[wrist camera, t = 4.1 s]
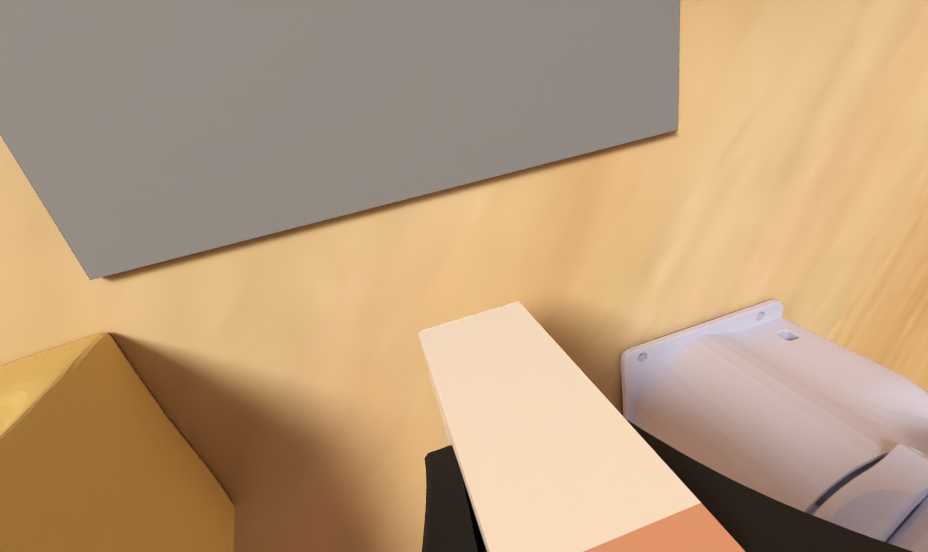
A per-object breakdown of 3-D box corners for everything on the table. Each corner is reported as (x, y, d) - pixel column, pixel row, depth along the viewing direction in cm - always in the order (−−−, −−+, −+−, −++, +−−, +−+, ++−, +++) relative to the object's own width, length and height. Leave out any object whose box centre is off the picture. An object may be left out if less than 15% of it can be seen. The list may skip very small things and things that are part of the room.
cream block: (518, 301, 12) (764, 572, 5) (539, 431, 14) (736, 756, 7) (417, 331, 12) (532, 678, 5) (454, 462, 14) (572, 845, 7)
